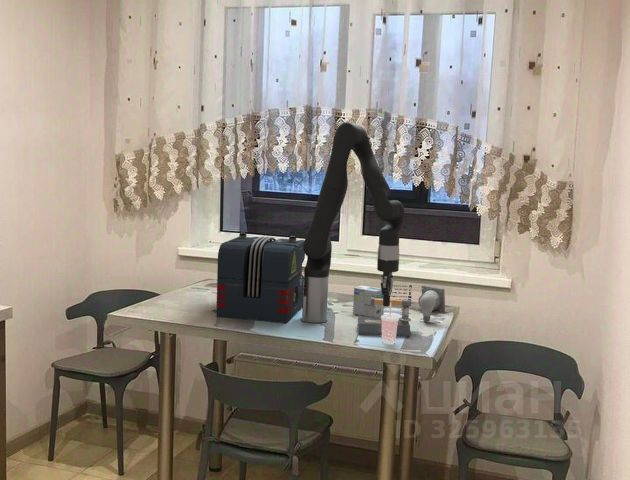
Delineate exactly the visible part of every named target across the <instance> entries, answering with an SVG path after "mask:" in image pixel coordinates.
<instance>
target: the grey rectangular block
mask: <svg viewBox="0 0 630 480" xmlns="http://www.w3.org/2000/svg"><path fill="white" fill-rule="evenodd" d="M401 308H402V310H401V317H399V320H398V325H397V333H396V337H401V336H403V337H406V338H408V337H409V338H410V334H411V325H410V322H411V320H412V319H411V318H410V316H409V314H410V306H401ZM356 327H357V335H362V336H363V335H364V336H365V335H366V336H380V335H382V319H381V316H379V317H368V316H360V315H359V316H357V325H356ZM403 337H402V338H403Z"/></svg>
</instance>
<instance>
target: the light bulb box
mask: <svg viewBox="0 0 630 480" xmlns="http://www.w3.org/2000/svg"><path fill="white" fill-rule="evenodd" d="M371 297H374V298H377V299H383V295H382V291H381V287H380V288H378V287H373V286H365V285H359V286H355V287H353V302H352V303H353V306H352V314H353V315H359V316H362V317H381V316H382V315H385V314H384V311H385V306H383V305H375V304H374V305H371V304H370V301H371Z"/></svg>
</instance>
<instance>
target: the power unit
mask: <svg viewBox="0 0 630 480" xmlns="http://www.w3.org/2000/svg"><path fill="white" fill-rule="evenodd" d="M304 241H305V239H297V236H295V235H290V236H289V238H278V239H276V238H275V237H274V236H270V237H269V236H251V237H250V236H247V233H246V232H239V235H238V236H237V237H234V238H232V239H230V240H227V241H224V242H222V243H221V244H220V246H219V247H218V248H219V249H218V252H217V273H216V275H217V277H216V278H217V279H216V317H218V318H226V319H235V320H238V319H239V320H249V321H258V322H267V323H268V322H269V323H280V324H288V323H289V322H290V321H291V319H292V318H294V316H295V315H296V314H298V312H300V310H302V309H303V293H304V274H303V263H304V261H305V258H306V254H305V252H304V248H303V245H304Z"/></svg>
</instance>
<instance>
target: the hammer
mask: <svg viewBox="0 0 630 480" xmlns="http://www.w3.org/2000/svg"><path fill="white" fill-rule="evenodd" d="M399 299H400V298H398V299H397V298H396V299H395V298H390V302H392V303H391V306H399V307H403V306H409V307H412V299H411V300H408V299H409V298H408V299H407V298H404V299H403V298H402V299H401V300H399ZM370 304H371V305H374V304H375V305H383V299H377V298H374V297H371V301H370Z"/></svg>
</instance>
